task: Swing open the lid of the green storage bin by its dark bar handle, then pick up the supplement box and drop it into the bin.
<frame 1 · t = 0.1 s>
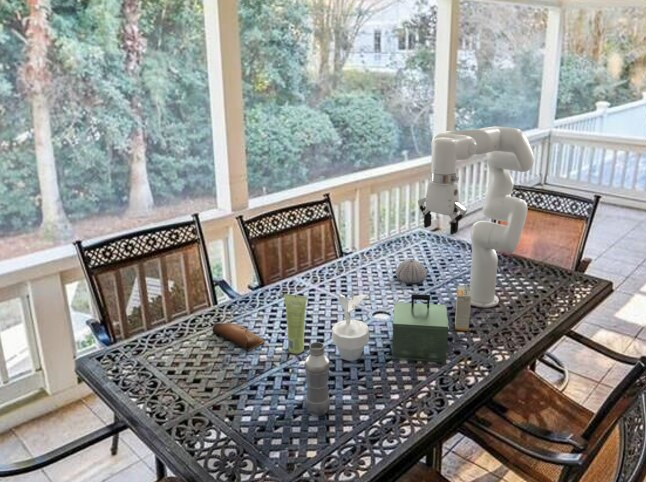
hand: (440, 229, 171), 37 cm above the table, tool pointing down, fingers open, 9 cm apart
plastic bottle: (317, 412, 143), on the table
sunglasses case: (238, 338, 179), on the table
potted plant: (352, 356, 169), on the table
sea urchin shell: (411, 279, 225), on the table
green storage bin: (418, 349, 172), on the table
supplement box: (461, 325, 187), on the table
bin lid: (420, 308, 168), point 14 cm above the table, hinge at 0.0°
tube: (296, 350, 172), on the table
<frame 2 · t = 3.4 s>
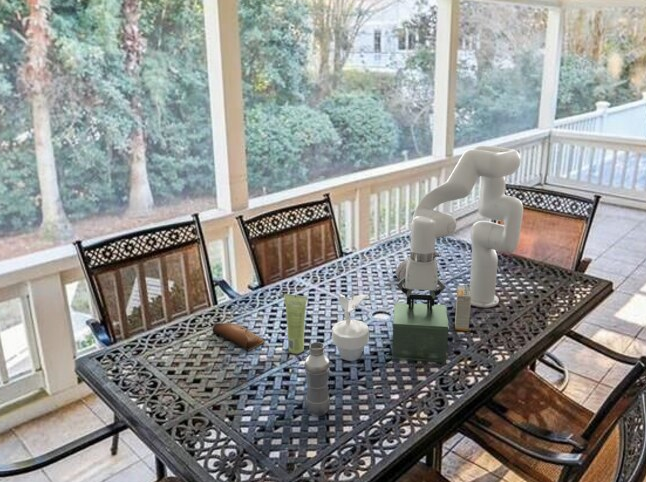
hand: (420, 306, 173), 13 cm above the table, tool pointing down, fingers closed on bin lid, 6 cm apart
bin lid: (420, 308, 168), point 14 cm above the table, hinge at -0.2°, touching gripper
everything else where it was.
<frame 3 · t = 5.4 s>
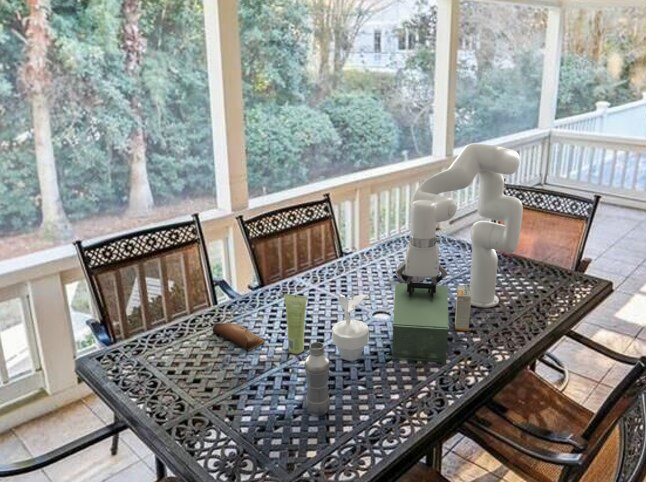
hand: (421, 293, 167), 19 cm above the table, tool pointing down, fingers closed on bin lid, 6 cm apart
bin lid: (421, 301, 165), point 18 cm above the table, hinge at 34.6°, touching gripper
everything else where it was.
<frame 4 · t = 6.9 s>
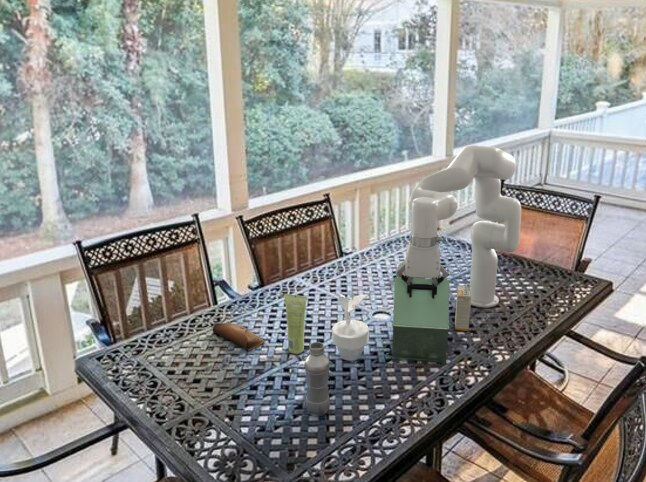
hand: (421, 295, 160), 22 cm above the table, tool pointing down, fingers closed on bin lid, 6 cm apart
bin lid: (421, 302, 161), point 20 cm above the table, hinge at 65.4°, touching gripper
everything else where it was.
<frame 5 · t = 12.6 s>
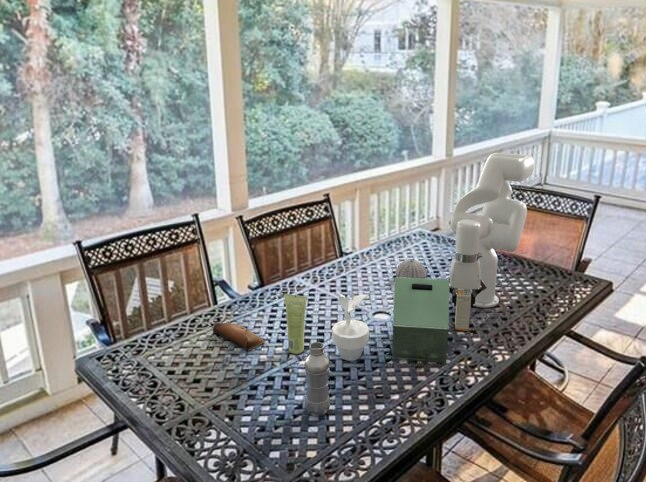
hand: (463, 304, 185), 8 cm above the table, tool pointing down, fingers closed on supplement box, 5 cm apart
supplement box: (461, 325, 187), on the table, touching gripper
bin lid: (421, 302, 161), point 20 cm above the table, hinge at 66.0°
everything else where it was.
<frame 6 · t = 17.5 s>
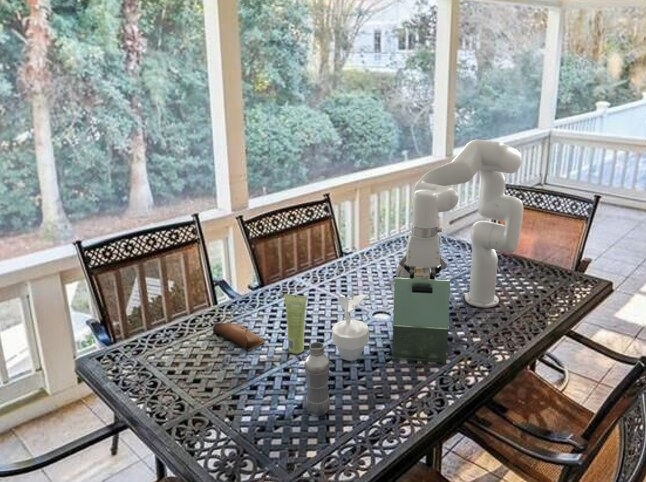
hand: (421, 285, 167), 22 cm above the table, tool pointing down, fingers closed on supplement box, 4 cm apart
supplement box: (421, 308, 169), point 14 cm above the table, touching gripper
bin lid: (421, 304, 160), point 20 cm above the table, hinge at 75.6°
everything else where it was.
when the fingers open (9 cm above the table, at t = 21.2 s): supplement box stays where it is, resting on green storage bin.
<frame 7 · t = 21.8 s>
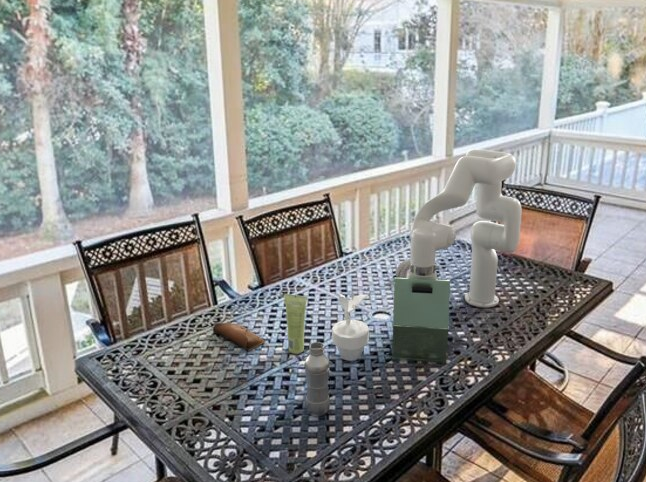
hand: (420, 317, 170), 11 cm above the table, tool pointing down, fingers open, 9 cm apart
supplement box: (419, 346, 173), point 1 cm above the table, touching green storage bin
everything else where it was.
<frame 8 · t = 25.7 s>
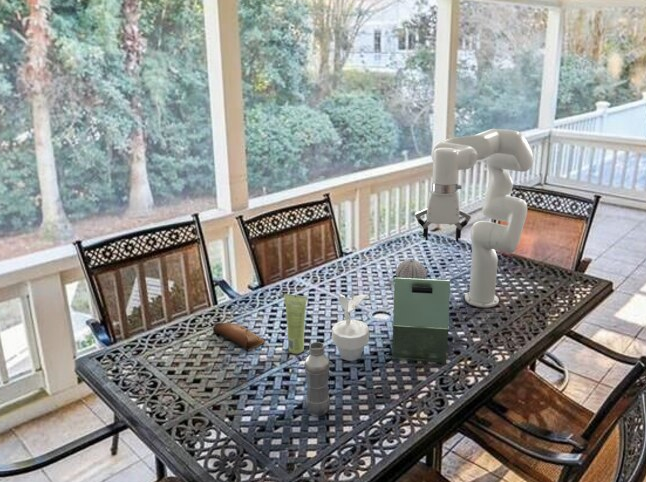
hand: (441, 239, 171), 34 cm above the table, tool pointing down, fingers open, 9 cm apart
nothing on the table moved.
at the end: bin lid at +76° (first picture: +0°); supplement box inside the target area in the green storage bin (0.8 cm from its centre), point 0.6 cm above the green storage bin's base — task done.
